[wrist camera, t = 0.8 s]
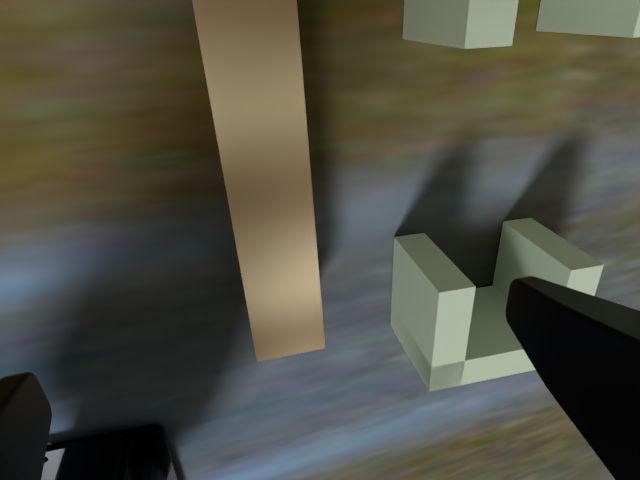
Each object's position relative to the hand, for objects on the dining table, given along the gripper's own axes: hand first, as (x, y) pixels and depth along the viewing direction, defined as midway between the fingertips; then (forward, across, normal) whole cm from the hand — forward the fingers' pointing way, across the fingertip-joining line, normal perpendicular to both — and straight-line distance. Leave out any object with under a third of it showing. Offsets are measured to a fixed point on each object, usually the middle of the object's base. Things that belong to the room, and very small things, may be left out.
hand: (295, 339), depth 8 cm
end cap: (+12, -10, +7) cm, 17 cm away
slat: (+12, -1, 0) cm, 12 cm away
